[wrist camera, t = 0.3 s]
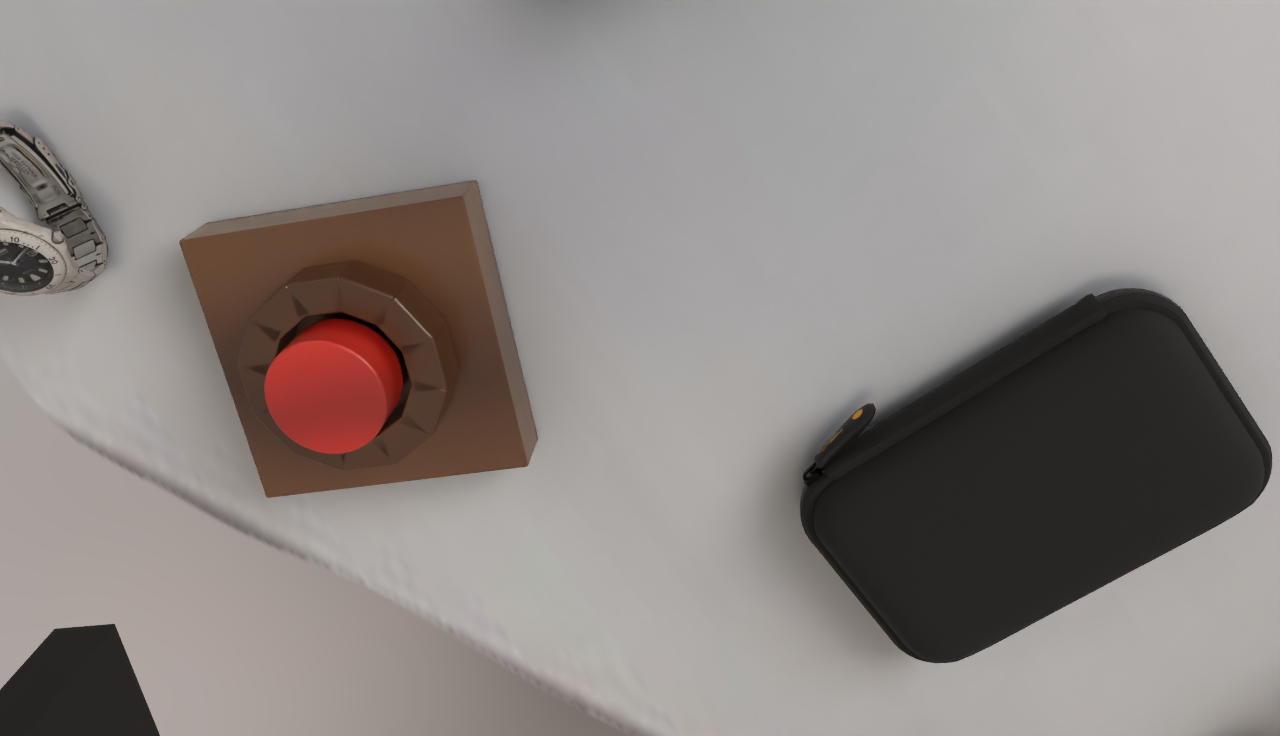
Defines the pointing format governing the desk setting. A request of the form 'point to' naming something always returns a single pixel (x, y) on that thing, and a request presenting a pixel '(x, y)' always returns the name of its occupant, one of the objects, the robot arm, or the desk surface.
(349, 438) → the button
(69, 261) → the wristwatch
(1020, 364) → the carrying case
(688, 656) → the desk surface
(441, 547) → the desk surface
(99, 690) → the robot arm
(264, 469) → the switch block
